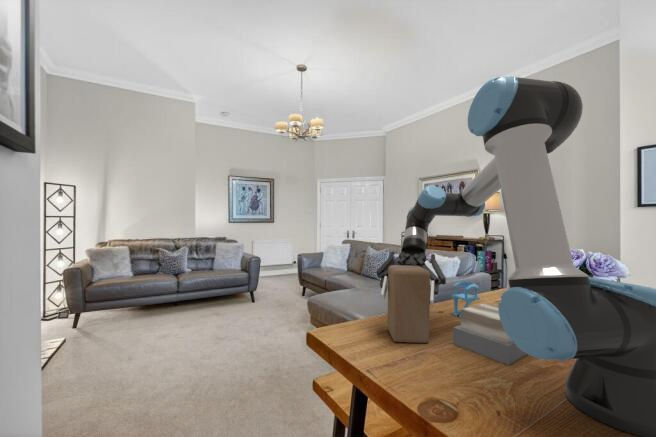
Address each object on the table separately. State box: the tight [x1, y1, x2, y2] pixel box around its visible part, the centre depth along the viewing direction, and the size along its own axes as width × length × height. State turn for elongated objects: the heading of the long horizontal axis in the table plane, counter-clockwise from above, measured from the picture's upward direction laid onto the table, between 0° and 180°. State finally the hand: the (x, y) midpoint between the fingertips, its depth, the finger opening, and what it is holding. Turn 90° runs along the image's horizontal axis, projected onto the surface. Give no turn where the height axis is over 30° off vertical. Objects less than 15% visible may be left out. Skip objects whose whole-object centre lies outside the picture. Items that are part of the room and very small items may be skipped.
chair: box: [451, 281, 481, 319], centre depth 104 cm, size 8×8×12 cm
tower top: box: [460, 302, 512, 343], centre depth 78 cm, size 12×12×5 cm
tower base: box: [452, 324, 528, 366], centre depth 78 cm, size 14×14×5 cm
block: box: [386, 264, 431, 344], centre depth 84 cm, size 10×10×20 cm
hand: (406, 300), depth 83 cm, fingers open, 13 cm apart
